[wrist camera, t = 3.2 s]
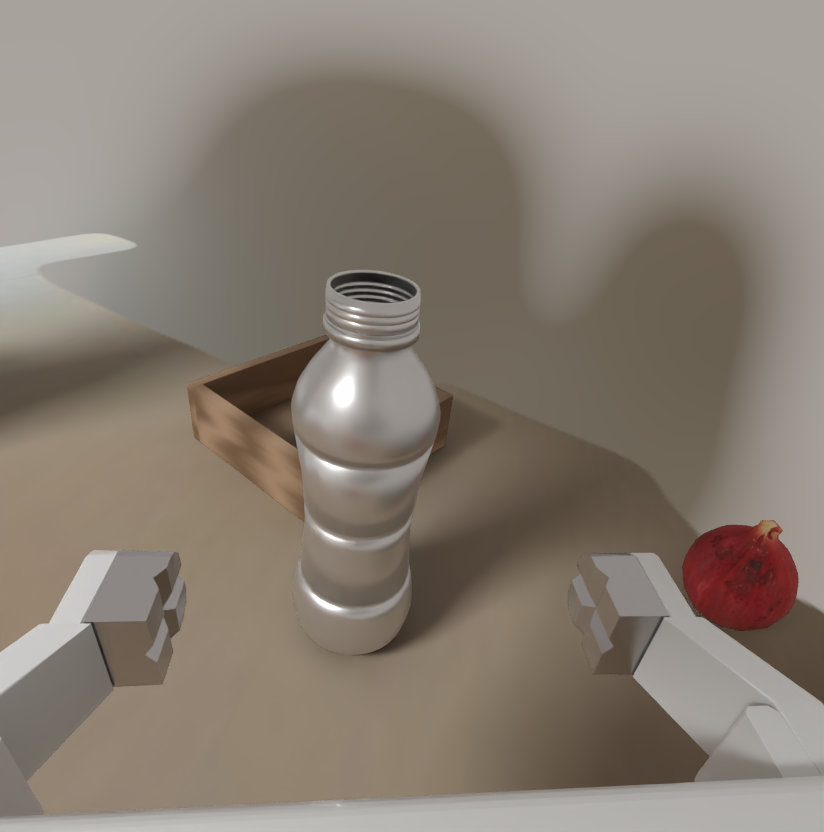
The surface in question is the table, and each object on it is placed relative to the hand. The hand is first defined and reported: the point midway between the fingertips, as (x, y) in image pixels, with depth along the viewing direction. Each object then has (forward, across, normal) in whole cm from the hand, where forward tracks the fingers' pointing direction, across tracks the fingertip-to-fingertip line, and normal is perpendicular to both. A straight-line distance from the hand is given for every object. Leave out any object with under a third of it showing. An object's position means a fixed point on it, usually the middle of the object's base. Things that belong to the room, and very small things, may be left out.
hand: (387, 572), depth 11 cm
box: (+30, +3, +18) cm, 35 cm away
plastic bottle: (+13, 0, +18) cm, 22 cm away
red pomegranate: (+13, -22, +19) cm, 32 cm away
